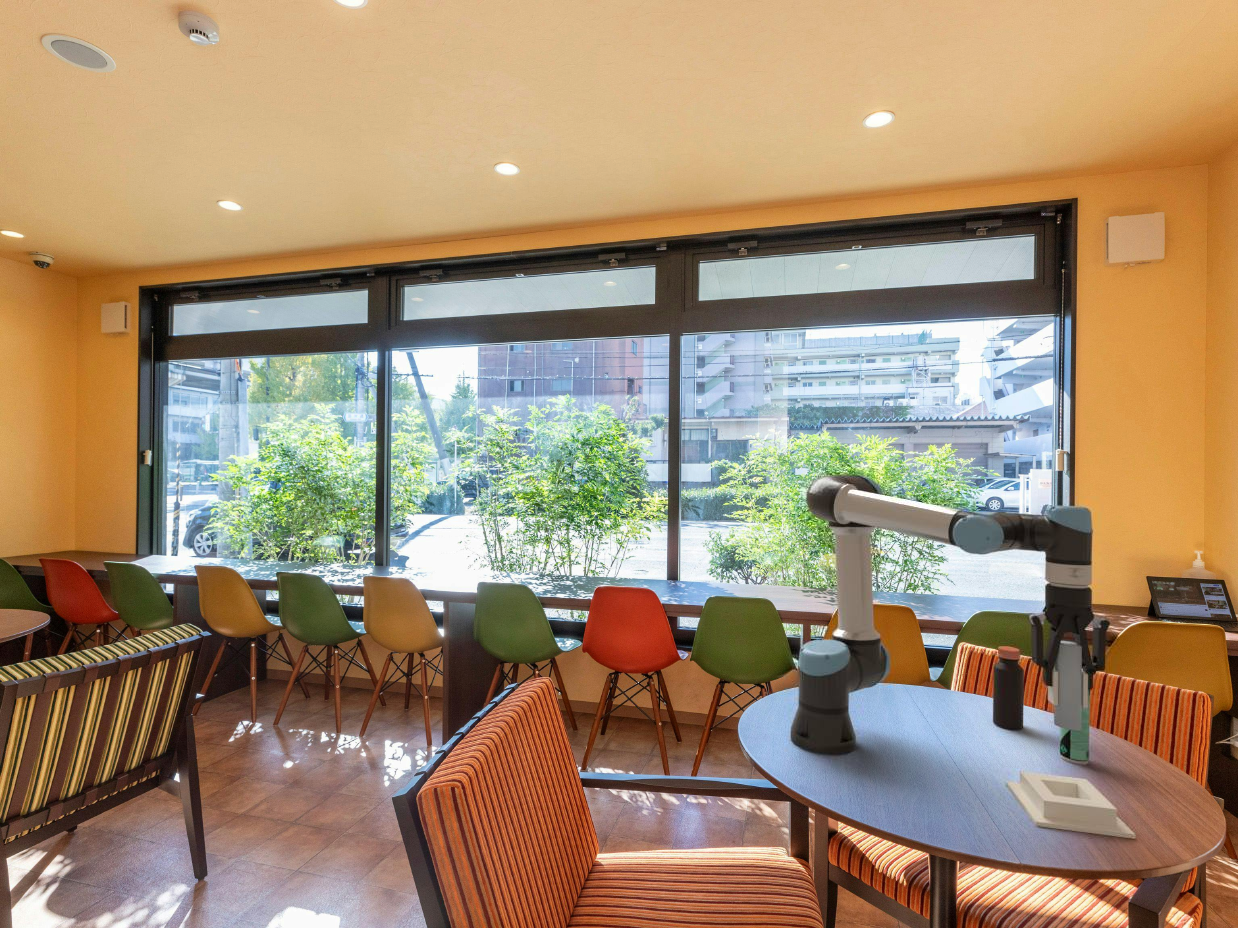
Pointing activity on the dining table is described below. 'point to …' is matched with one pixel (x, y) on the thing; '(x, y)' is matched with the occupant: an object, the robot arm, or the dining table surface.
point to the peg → (1069, 686)
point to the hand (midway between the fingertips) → (1067, 703)
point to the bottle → (1008, 689)
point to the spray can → (1076, 740)
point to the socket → (1067, 804)
